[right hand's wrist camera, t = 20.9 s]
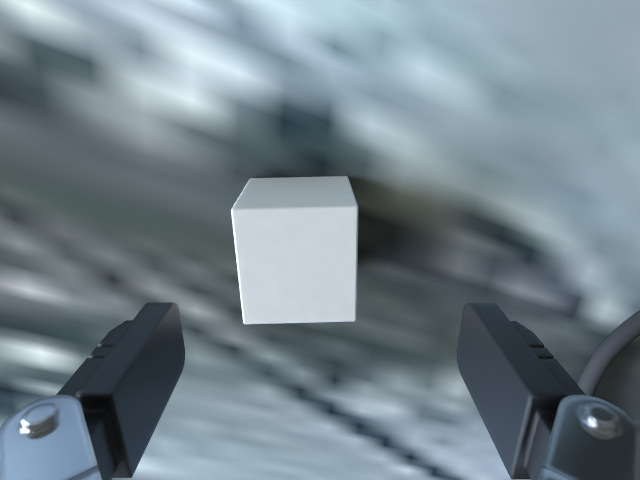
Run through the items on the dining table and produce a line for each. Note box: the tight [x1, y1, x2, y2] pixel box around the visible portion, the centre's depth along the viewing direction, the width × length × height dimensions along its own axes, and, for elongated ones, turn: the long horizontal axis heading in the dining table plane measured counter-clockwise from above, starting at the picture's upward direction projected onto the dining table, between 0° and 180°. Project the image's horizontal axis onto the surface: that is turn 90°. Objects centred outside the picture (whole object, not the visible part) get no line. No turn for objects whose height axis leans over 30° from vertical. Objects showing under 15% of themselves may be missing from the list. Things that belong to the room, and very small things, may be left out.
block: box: [231, 176, 358, 324], centre depth 17 cm, size 4×5×5 cm
